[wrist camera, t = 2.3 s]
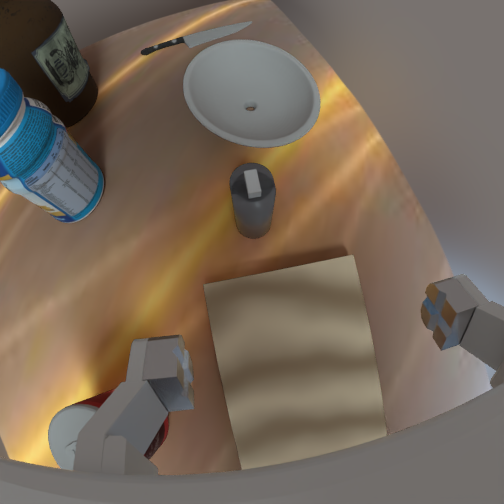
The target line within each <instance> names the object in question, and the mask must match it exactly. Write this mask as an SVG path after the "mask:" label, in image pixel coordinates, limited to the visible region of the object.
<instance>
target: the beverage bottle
mask: <svg viewBox="0 0 504 504" xmlns="http://www.w3.org/2000/svg"><path fill="white" fill-rule="evenodd" d="M0 181H1V183H2V184H3V185H4V186H5V187H6V188H7V189H8V190H9V191H11V192H13V193H15V194H20V195H22V196H23V197H25V198H26V199H28V200H29V201H31V202H32V203H34V204H36V205H37V206H39V207H40V208H42V209H43V210H45V211H46V212H48V213H49V214H50V215H51V216H53V217H54V218H55V219H57V220H59V221H61V222H64V223H73V222H77V221H80V220H82V219H84V218H85V217H87V216H88V215H89V214H90V213H91V212H92V211H93V210H94V209H95V207H96V206H97V205H98V203H99V201H100V199H101V196H102V193H103V189H104V178H103V174H102V172H101V170H100V168H99V167H98V166H97V165H96V164H95V163H94V162H93V161H92V160H91V158H90V157H89V156H88V155H87V154H86V153H85V152H84V150H83V149H82V148H81V147H80V146H79V144H78V143H77V142H76V141H75V140H74V138H73V137H72V136H71V135H70V134H69V132H68V131H67V130H66V127H65V126H64V124H63V123H62V122H61V121H60V120H59V119H58V118H57V117H56V116H54V115H52V114H51V111H50V109H49V108H48V107H47V106H46V105H45V104H44V103H42V102H40V101H38V100H36V99H32V98H27V97H24V95H23V92H22V90H21V88H20V86H19V85H18V84H17V82H16V81H15V80H14V79H13V77H12V76H11V75H10V74H9V73H8V72H7V71H6V70H4V69H2V68H0Z"/></svg>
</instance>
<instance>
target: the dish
mask: <svg viewBox="0 0 504 504" xmlns="http://www.w3.org/2000/svg"><path fill="white" fill-rule="evenodd" d="M183 92H184V97H185V100H186V103H187V105H188V107H189V109H190V111H191V112H192V113H193V115H194V116H195V117H196V119H197V120H198V121H199V122H200V123H201V124H202V125H203V126H204V127H206V128H207V129H208V130H210V131H211V132H213V133H214V134H216V135H217V136H219V137H221V138H223V139H225V140H228V141H230V142H233V143H236V144H239V145H243V146H248V147H256V148H271V147H278V146H283V145H287V144H289V143H292V142H294V141H296V140H298V139H300V138H301V137H303V136H304V135H305V134H306V133H307V132H309V130H310V129H311V128H312V127H313V125H314V124H315V122H316V120H317V118H318V115H319V111H320V95H319V90H318V87H317V85H316V82H315V80H314V79H313V77H312V75H311V74H310V72H309V71H308V70H307V69H306V67H305V66H304V65H303V64H302V63H301V62H300V61H298V60H297V59H296V58H295V57H293V56H292V55H291V54H289V53H287V52H286V51H284V50H282V49H280V48H278V47H276V46H273V45H270V44H267V43H264V42H259V41H254V40H230V41H224V42H220V43H217V44H214V45H212V46H210V47H208V48H206V49H204V50H203V51H201V52H200V53H199V54H198V55H197V56H196V57H194V59H193V60H192V61H191V62H190V64H189V65H188V67H187V69H186V72H185V75H184V80H183ZM248 107H253V108H255V110H253V111H248V110H246V108H248Z"/></svg>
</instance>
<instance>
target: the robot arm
mask: <svg viewBox="0 0 504 504" xmlns="http://www.w3.org/2000/svg"><path fill="white" fill-rule="evenodd" d="M425 293H426V295H427V298H426V299H425V300H424V301H423V303H422V307H421V318H422V320H423V323H424V325H425V326H426V328H427V329H429V330H431V331H433V339H434V340H435V342H436V343H437V345H438V347H439V348H440V350H441V351H442V350H445V349H448V348H451V347H453V346H456V345H459V344H460V346H461V347H463V348H464V349H465V350H467V351H468V352H470V353H471V354H473V355H474V356H476V357H477V358H479V359H480V360H481V361H483V362H484V363H486V364H488V365H489V366H490V367H492V368H493V369H494V370H496V373H495V374H494V376H493V377H492V378H491V381H490V384H491V386H492V387H493V389H491V390H489V391H487V392H485V393H483V394H482V395H480V396H478V397H476V398H474V399H472V400H470V401H468V402H466V403H464V404H462V405H460V406H458V407H456V408H453V409H451V410H449V411H447V412H445V413H443V414H440V415H438V416H436V417H433V418H431V419H429V420H426V421H424V422H422V423H419V424H417V425H414V426H412V427H409V428H406V429H404V430H401V431H398V432H396V433H393V434H390V435H387V436H384V437H381V438H378V439H375V440H372V441H369V442H366V443H363V444H359V445H356V446H353V447H349V448H346V449H342V450H338V451H335V452H331V453H327V454H323V455H319V456H315V457H310V458H306V459H301V460H296V461H291V462H286V463H281V464H275V465H270V466H263V467H257V468H250V469H243V470H234V471H225V472H215V473H203V474H186V475H158V468H157V467H156V466H155V465H154V464H153V463H152V462H151V461H149V460H148V459H147V458H146V457H145V456H144V454H145V452H146V450H147V449H148V447H149V445H150V444H151V442H152V440H153V439H154V437H155V435H156V434H157V432H158V430H159V429H160V427H161V425H162V424H163V422H164V420H165V419H166V417H167V415H168V412H171V411H180V410H188V409H194V390H193V388H192V386H191V382H192V381H193V380H194V376H193V366H192V361H191V357H190V354H189V352H188V351H187V350H185V349H184V345H185V342H184V340H183V338H182V336H181V335H172V336H162V337H152V338H145V339H134V341H133V342H132V345H131V351H130V357H129V363H128V369H127V376H126V382H121V383H120V384H119V386H118V387H117V388H116V389H115V390H114V391H113V393H112V394H111V395H110V396H109V397H108V399H107V400H106V401H105V402H104V403H103V404H102V406H101V407H100V408H99V409H98V410H97V412H96V413H95V414H94V415H93V416H92V417H91V419H90V420H89V421H88V422H87V423H86V425H85V426H84V427H83V428H82V429H81V431H80V432H79V433H78V438H77V444H76V451H75V458H74V465H73V470H66V469H59V468H52V467H46V466H41V465H35V464H30V463H25V462H20V461H16V460H12V459H7V458H3V457H0V504H504V307H503V306H501V305H499V304H497V303H495V302H493V301H491V302H489V301H488V300H487V299H486V298H485V297H484V295H483V294H482V293H481V292H480V291H479V290H478V288H477V287H476V286H475V285H474V284H473V283H472V282H471V280H470V279H469V278H468V277H467V276H466V275H463V274H461V275H458V276H454V277H452V278H448V279H444V280H441V281H437V282H434V283H430V284H429V285H428V286H427V288H426V292H425Z"/></svg>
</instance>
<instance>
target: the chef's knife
mask: <svg viewBox="0 0 504 504" xmlns="http://www.w3.org/2000/svg"><path fill="white" fill-rule="evenodd" d="M251 23H252V22H251V21H250V22H244V23H238V24H233V25H228V26H223V27H219V28H215V29H210V30H206V31H202V32H199V33H195V34H191V35H187V36H184V37H180V38H177V39H174V40H170V41H167V42H164V43H161V44H158V45H155V46H152V47H149V48H145V49H144V50H142V51H141V54H142V55H148V54H150V53H152V52H154V51H156V50H159V49H162V48H165V47H168V46H172V45H176V44H179V43H185V44H186V45H187V46H188V47H189V48H191V47H194V46H197V45H200V44H202V43H205V42H208V41H211V40H214V39H217V38H221V37H224V36H227V35H230V34H232V33H235V32H237V31H239V30H241V29H243V28H245V27H247V26H248V25H250V24H251Z"/></svg>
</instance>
